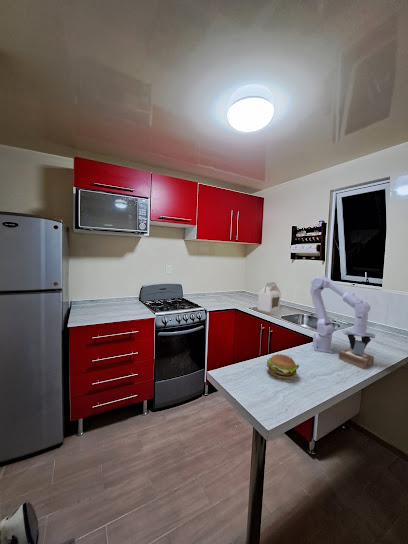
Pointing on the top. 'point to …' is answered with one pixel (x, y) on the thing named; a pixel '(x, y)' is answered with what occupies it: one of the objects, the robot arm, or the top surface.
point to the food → (282, 366)
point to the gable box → (269, 298)
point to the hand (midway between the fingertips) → (357, 349)
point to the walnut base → (356, 358)
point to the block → (358, 347)
